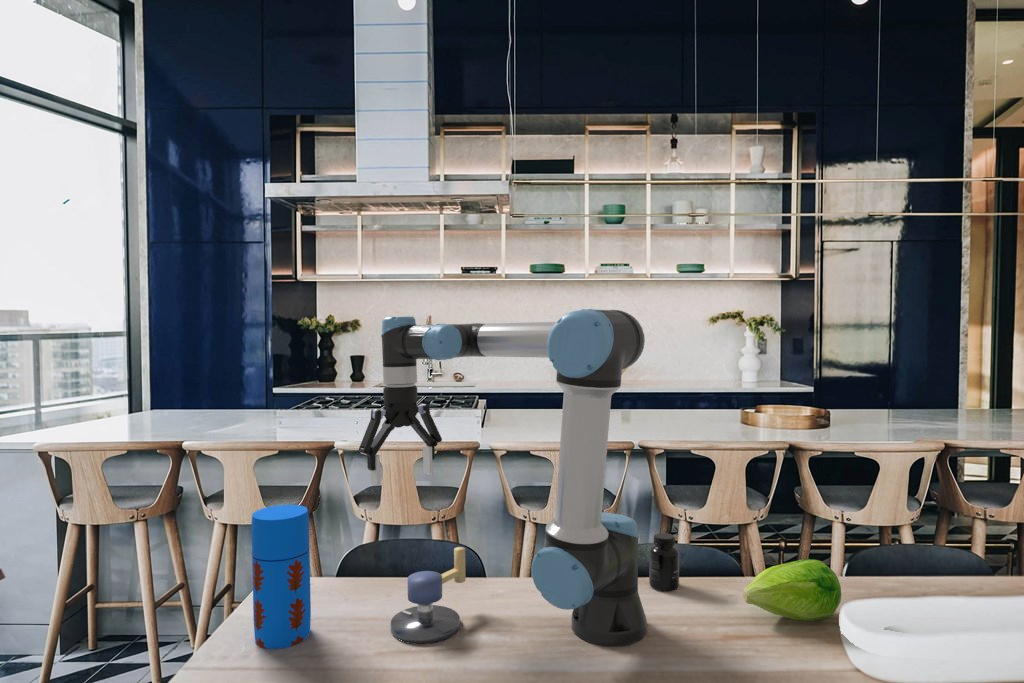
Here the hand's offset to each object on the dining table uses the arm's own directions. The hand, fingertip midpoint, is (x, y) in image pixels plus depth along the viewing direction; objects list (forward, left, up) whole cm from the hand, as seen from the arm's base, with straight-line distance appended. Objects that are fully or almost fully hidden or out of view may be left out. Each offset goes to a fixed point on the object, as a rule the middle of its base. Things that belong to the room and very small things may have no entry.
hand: (402, 479), depth 148 cm
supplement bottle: (-46, -39, -27) cm, 66 cm away
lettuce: (-74, -38, -27) cm, 87 cm away
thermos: (+7, +27, -27) cm, 39 cm away
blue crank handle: (-14, +3, -21) cm, 25 cm away
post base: (-14, +8, -27) cm, 31 cm away
